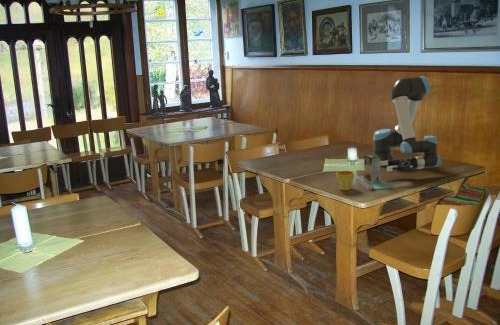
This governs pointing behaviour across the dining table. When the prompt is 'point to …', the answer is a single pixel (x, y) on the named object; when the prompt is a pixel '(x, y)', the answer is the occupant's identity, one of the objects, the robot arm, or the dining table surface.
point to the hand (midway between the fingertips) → (382, 166)
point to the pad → (381, 186)
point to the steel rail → (365, 183)
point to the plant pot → (345, 179)
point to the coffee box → (372, 168)
